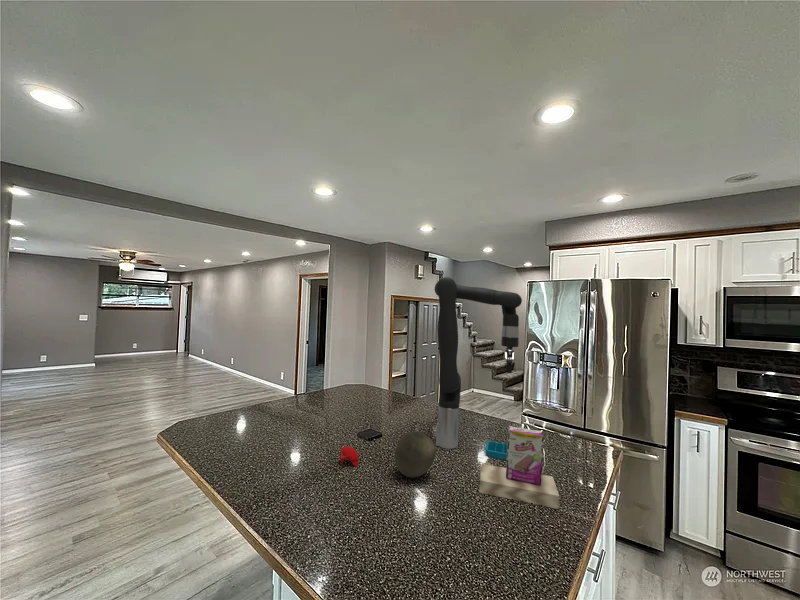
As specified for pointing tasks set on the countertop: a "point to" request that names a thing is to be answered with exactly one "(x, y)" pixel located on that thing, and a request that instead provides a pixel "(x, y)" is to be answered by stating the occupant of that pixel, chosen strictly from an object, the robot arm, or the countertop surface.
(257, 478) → the countertop surface
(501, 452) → the ice cube tray
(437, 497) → the countertop surface
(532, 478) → the candy bar box
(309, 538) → the countertop surface
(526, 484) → the birch stand
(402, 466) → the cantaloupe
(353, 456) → the cap
